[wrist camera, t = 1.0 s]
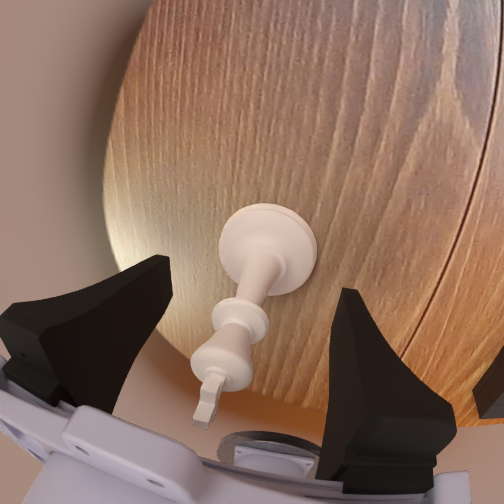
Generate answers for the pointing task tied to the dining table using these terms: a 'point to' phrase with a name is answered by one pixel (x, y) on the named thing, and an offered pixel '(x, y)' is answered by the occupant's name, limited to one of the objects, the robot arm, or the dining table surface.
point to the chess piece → (250, 295)
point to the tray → (491, 390)
